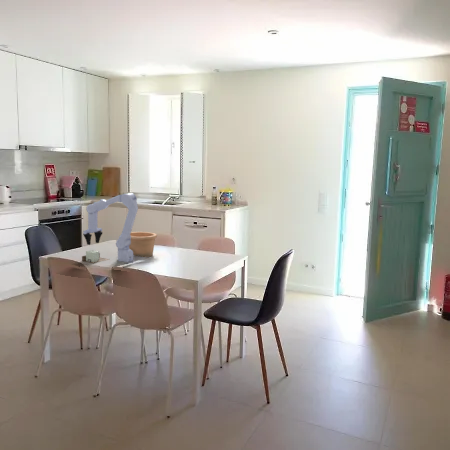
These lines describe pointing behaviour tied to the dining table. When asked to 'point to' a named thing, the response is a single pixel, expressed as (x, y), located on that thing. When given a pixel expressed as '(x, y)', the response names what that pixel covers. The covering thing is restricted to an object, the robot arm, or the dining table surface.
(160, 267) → the dining table surface
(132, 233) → the pottery
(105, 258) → the cleat board
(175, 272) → the dining table surface
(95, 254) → the sage block
